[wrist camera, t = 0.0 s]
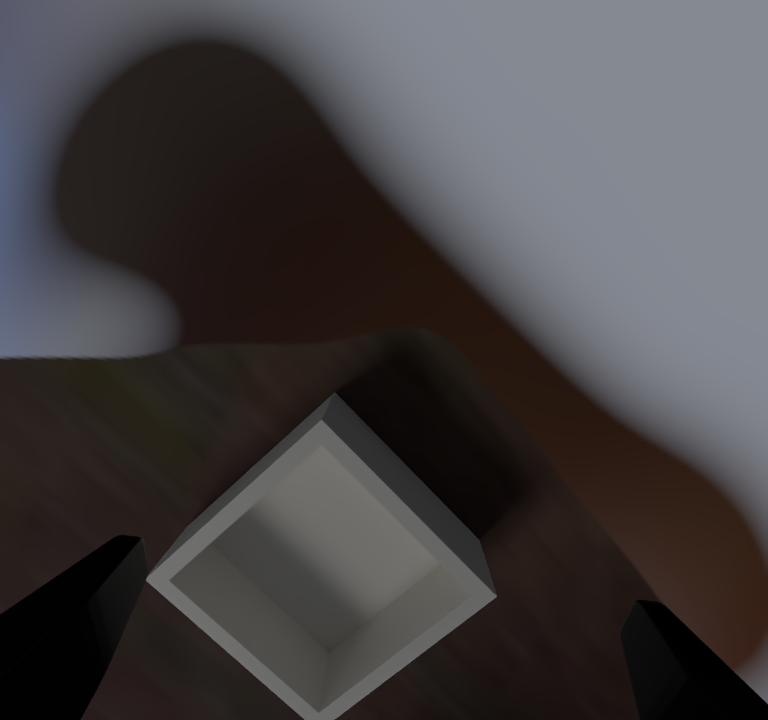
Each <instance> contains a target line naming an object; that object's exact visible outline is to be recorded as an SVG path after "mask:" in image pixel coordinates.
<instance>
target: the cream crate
mask: <svg viewBox="0 0 768 720" xmlns="http://www.w3.org/2000/svg"><path fill="white" fill-rule="evenodd" d="M146 581H147V582H148V583H150V584H151V585H152V586H153V587H154V588H155V589H156V590H158V591H159V592H160V593H161V594H162V595H163V596H164V597H165V598H167V599H168V600H169V601H170V602H171V603H172V604H173V605H175V606H176V607H177V608H178V609H179V610H180V611H181V612H183V613H184V614H185V615H186V616H187V617H188V618H189V619H191V620H192V621H193V622H194V623H195V624H196V625H197V626H199V627H200V628H201V629H202V630H203V631H204V632H205V633H207V634H208V635H209V636H210V637H211V638H212V639H213V640H214V641H216V642H217V643H218V644H219V645H220V646H221V647H222V648H224V649H225V650H226V651H227V652H228V653H229V654H230V655H232V656H233V657H234V658H235V659H236V660H237V661H238V662H240V663H241V664H242V665H243V666H244V667H245V668H246V669H248V670H249V671H250V672H251V673H252V674H253V675H254V676H256V677H257V678H258V679H259V680H260V681H261V682H262V683H264V684H265V685H266V686H267V687H268V688H269V689H270V690H271V691H273V692H274V693H275V694H276V695H277V696H278V697H279V698H281V699H282V700H283V701H284V702H285V703H286V704H287V705H289V706H290V707H291V708H292V709H293V710H294V711H295V712H297V713H298V714H299V715H300V716H301V717H302V718H303V719H305V720H335V719H336V718H337V717H339V716H340V715H341V714H342V713H344V712H345V711H346V710H348V709H349V708H350V707H352V706H353V705H354V704H356V703H357V702H358V701H360V700H361V699H362V698H364V697H365V696H366V695H368V694H369V693H370V692H372V691H373V690H374V689H376V688H377V687H378V686H379V685H381V684H382V683H383V682H385V681H386V680H387V679H389V678H390V677H391V676H393V675H394V674H395V673H397V672H398V671H399V670H401V669H402V668H403V667H405V666H406V665H407V664H409V663H410V662H411V661H413V660H414V659H415V658H416V657H418V656H419V655H420V654H422V653H423V652H424V651H426V650H427V649H428V648H430V647H431V646H432V645H434V644H435V643H436V642H438V641H439V640H440V639H442V638H443V637H444V636H446V635H447V634H448V633H450V632H451V631H452V630H454V629H455V628H456V627H457V626H459V625H460V624H461V623H463V622H464V621H465V620H467V619H468V618H469V617H471V616H472V615H473V614H475V613H476V612H477V611H479V610H480V609H481V608H483V607H484V606H485V605H487V604H488V603H489V602H491V601H492V600H493V599H494V598H496V597H497V595H496V592H495V588H494V585H493V582H492V579H491V576H490V572H489V569H488V566H487V563H486V560H485V556H484V553H483V550H482V547H481V544H480V540H479V539H478V538H477V537H476V536H475V535H474V534H473V533H472V532H471V531H470V530H469V529H468V528H467V527H466V526H465V525H464V524H463V523H462V522H461V521H460V520H459V519H458V518H457V517H456V516H455V515H454V514H453V513H452V512H451V510H450V509H449V508H448V507H447V506H446V505H445V504H444V503H443V502H442V501H441V500H440V499H439V498H438V497H437V496H436V495H435V494H434V493H433V492H432V491H431V490H430V489H429V488H428V487H427V486H426V485H425V484H424V483H423V482H422V481H421V480H420V479H419V478H418V477H417V476H416V475H415V474H414V473H413V472H412V471H411V469H410V468H409V467H408V466H407V465H406V464H405V463H404V462H403V461H402V460H401V459H400V458H399V457H398V456H397V455H396V454H395V453H394V452H393V451H392V450H391V449H390V448H389V447H388V446H387V445H386V444H385V443H384V442H383V441H382V440H381V439H380V438H379V437H378V436H377V435H376V434H375V433H374V432H373V431H372V429H371V428H370V427H369V426H368V425H367V424H366V423H365V422H364V421H363V420H362V419H361V418H360V417H359V416H358V415H357V414H356V413H355V412H354V411H353V410H352V409H351V408H350V407H349V406H348V405H347V404H346V403H345V402H344V401H343V400H342V399H341V398H340V397H339V396H338V395H337V394H336V393H335V392H334V393H333V394H332V395H331V396H330V397H329V398H328V399H327V400H325V401H324V402H323V403H322V404H321V405H320V406H319V407H318V408H317V409H316V410H314V411H313V412H312V413H311V414H310V415H309V416H308V417H307V418H306V419H305V420H304V421H302V422H301V423H300V424H299V425H298V426H297V427H296V428H295V429H294V430H293V431H291V432H290V433H289V434H288V435H287V436H286V437H285V438H284V439H283V440H282V441H280V442H279V443H278V444H277V445H276V446H275V447H274V448H273V449H272V450H271V451H270V452H268V453H267V454H266V455H265V456H264V457H263V458H262V459H261V460H260V461H259V462H257V463H256V464H255V465H254V466H253V467H252V468H251V469H250V470H249V471H248V472H246V473H245V474H244V475H243V476H242V477H241V478H240V479H239V480H238V481H237V482H235V483H234V484H233V485H232V486H231V487H230V488H229V489H228V490H227V491H226V492H225V493H223V494H222V495H221V496H220V497H219V498H218V499H217V500H216V501H215V502H214V503H212V504H211V505H210V506H209V507H208V508H207V509H206V510H205V511H204V512H203V513H201V514H200V515H199V516H198V517H197V518H196V519H195V520H194V521H193V522H192V523H191V524H189V525H188V526H187V527H186V529H185V530H184V531H183V532H182V534H181V535H180V536H179V537H178V539H177V540H176V541H175V542H174V544H173V545H172V546H171V547H170V549H169V550H168V551H167V552H166V554H165V555H164V556H163V557H162V559H161V560H160V561H159V562H158V563H157V565H156V566H155V567H154V568H153V570H152V571H151V572H150V573H149V575H148V576H147V579H146Z"/></svg>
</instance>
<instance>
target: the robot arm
mask: <svg viewBox="0 0 768 720" xmlns="http://www.w3.org/2000/svg"><path fill="white" fill-rule="evenodd" d="M147 575H148V563H147V557H146V551H145V546H144V541H143V540H142V539H141V538H140V537H135V536H127V535H119V536H116V537H114V538H113V539H111V540H110V541H108V542H107V543H105V544H104V545H102V546H101V547H99V548H98V549H96V550H95V551H93V552H92V553H90V554H89V555H87V556H86V557H84V558H83V559H82V560H80V561H79V562H77V563H76V564H74V565H73V566H71V567H70V568H68V569H67V570H65V571H64V572H62V573H61V574H59V575H58V576H56V577H55V578H53V579H52V580H50V581H49V582H48V583H46V584H45V585H43V586H42V587H40V588H39V589H37V590H36V591H34V592H33V593H31V594H30V595H28V596H27V597H25V598H24V599H22V600H21V601H19V602H18V603H17V604H15V605H14V606H12V607H11V608H9V609H8V610H6V611H5V612H3V613H2V614H0V720H80V719H81V718H82V716H83V714H84V712H85V710H86V708H87V707H88V705H89V703H90V701H91V699H92V698H93V696H94V694H95V692H96V690H97V688H98V686H99V685H100V683H101V681H102V679H103V677H104V675H105V673H106V671H107V669H108V667H109V664H110V662H111V660H112V658H113V656H114V653H115V651H116V649H117V646H118V644H119V642H120V640H121V637H122V635H123V633H124V630H125V628H126V626H127V623H128V621H129V619H130V616H131V614H132V612H133V610H134V607H135V605H136V603H137V600H138V598H139V596H140V593H141V591H142V589H143V586H144V584H145V582H146V579H147ZM620 639H621V644H622V649H623V653H624V657H625V661H626V665H627V669H628V673H629V677H630V682H631V686H632V690H633V694H634V698H635V702H636V706H637V710H638V715H639V719H640V720H768V704H767V703H766V702H765V701H764V700H763V699H762V698H761V697H760V696H759V695H758V694H757V693H755V691H753V690H752V689H751V688H750V687H749V686H748V685H747V684H746V683H745V682H744V681H743V680H742V679H741V678H740V677H739V676H738V675H737V674H736V673H735V672H734V671H733V670H732V669H731V668H729V666H727V665H726V664H725V663H724V662H723V661H722V660H721V659H720V658H719V657H718V656H717V655H716V654H715V653H714V652H713V651H712V650H711V649H710V648H709V647H708V646H707V645H706V644H705V643H703V641H701V640H700V639H699V638H698V637H697V636H696V635H695V634H694V633H693V632H692V631H691V630H690V629H689V628H688V627H687V626H686V625H685V624H684V623H683V622H682V621H680V619H679V618H678V617H677V616H675V615H674V614H673V613H672V612H671V611H670V610H669V609H668V608H667V607H666V606H665V605H663V604H662V603H660V602H656V601H648V600H637V601H636V602H634V604H633V606H632V607H631V609H630V611H629V613H628V615H627V617H626V619H625V620H624V622H623V624H622V626H621V630H620Z"/></svg>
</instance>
